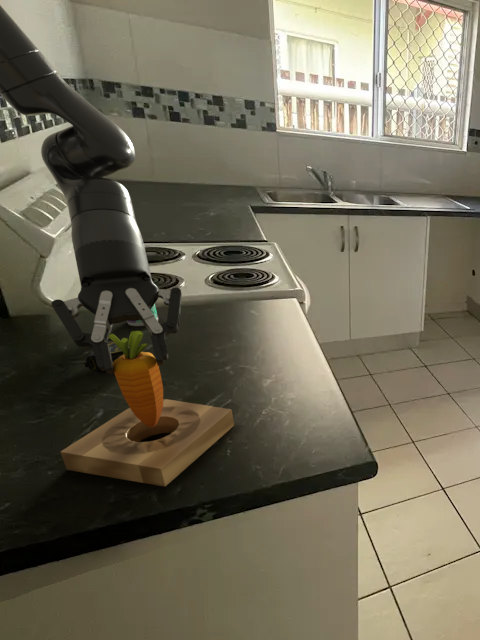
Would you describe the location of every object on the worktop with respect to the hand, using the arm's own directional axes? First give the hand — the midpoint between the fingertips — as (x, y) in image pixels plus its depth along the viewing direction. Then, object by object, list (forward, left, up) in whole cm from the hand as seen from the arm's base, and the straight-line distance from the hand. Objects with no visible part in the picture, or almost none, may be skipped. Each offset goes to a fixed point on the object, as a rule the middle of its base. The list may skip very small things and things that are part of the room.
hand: (135, 367), depth 61 cm
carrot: (-1, +1, -11) cm, 11 cm away
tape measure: (-25, +19, -14) cm, 35 cm away
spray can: (-35, +37, -14) cm, 53 cm away
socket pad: (-1, +1, -14) cm, 14 cm away
